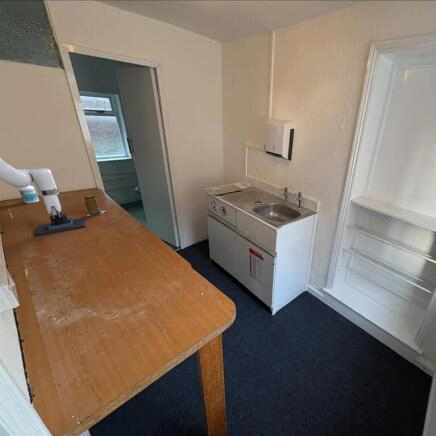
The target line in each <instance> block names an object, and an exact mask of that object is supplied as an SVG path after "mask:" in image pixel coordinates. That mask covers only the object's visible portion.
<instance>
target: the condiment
mask: <svg viewBox="0 0 436 436" xmlns="http://www.w3.org/2000/svg"><path fill="white" fill-rule="evenodd" d="M83 198H84V204H85V207H86V210H87V213H88V214H86V217H89V216H102V215H103V214H105V213H106V210H101V209H100V206H99V203H98V200H97V198H96V196H95V195H94V194H88V195H84V197H83ZM104 212H105V213H104Z"/></svg>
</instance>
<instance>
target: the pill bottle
mask: <svg viewBox="0 0 436 436" xmlns="http://www.w3.org/2000/svg"><path fill="white" fill-rule="evenodd" d="M36 191H37V190H36V189H35V187H34V186H33V185H31V183H30V184H29V185H28V186H27V187H23V188H18V192H19V194H20V196H21V198H22V200H23V201H22V202H23V203H24V204H35V203H36V204H37V203H38V202H40V198H39V195H38V193H37V192H36Z"/></svg>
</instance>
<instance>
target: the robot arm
mask: <svg viewBox="0 0 436 436" xmlns="http://www.w3.org/2000/svg"><path fill="white" fill-rule="evenodd" d="M0 181H2V182H4V183H5V184H7V185H9V186H12V187H14V188H18V189H19V188H23V187H27V186H28V185H29V184H30V185H31V183H34V186H35V188H36V191H37V194H38V196H39V197H42V200H43V203H44V206H45V209H46V212H47V215H53V217H54V221H55V223H56V225H61V224H64V222H63V219H62V217H61V216H60V214H63V213H62V206H61V203H60V200H59V197H58V195H59V194H60V192H59V190H58V186H57V184H56V181H55V179H54V176H53V174H52V171H51V169H49V168H46V167H41V168H40V167H39V168H30V169H29V168H27V169H26V168H14V166H12V165H10V164H9V163H8V162H6V161H4V160H3V159H2V158H1V157H0Z"/></svg>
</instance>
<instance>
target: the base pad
mask: <svg viewBox="0 0 436 436" xmlns="http://www.w3.org/2000/svg"><path fill="white" fill-rule="evenodd" d="M68 220H69V223H67V224H61V225H55V226H53V225H52V223H51V221H49V223H45V224H40V225H37V228H36V231H35V234H34V236H35V237H40V236H41V237H42V236H46V235H50V234H56V233H57V234H58V233H62V232H67V231H72V230H78V229H82V228H83V229H84V228H86V219H85V217H80V218H74V219H73V218H68Z"/></svg>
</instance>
